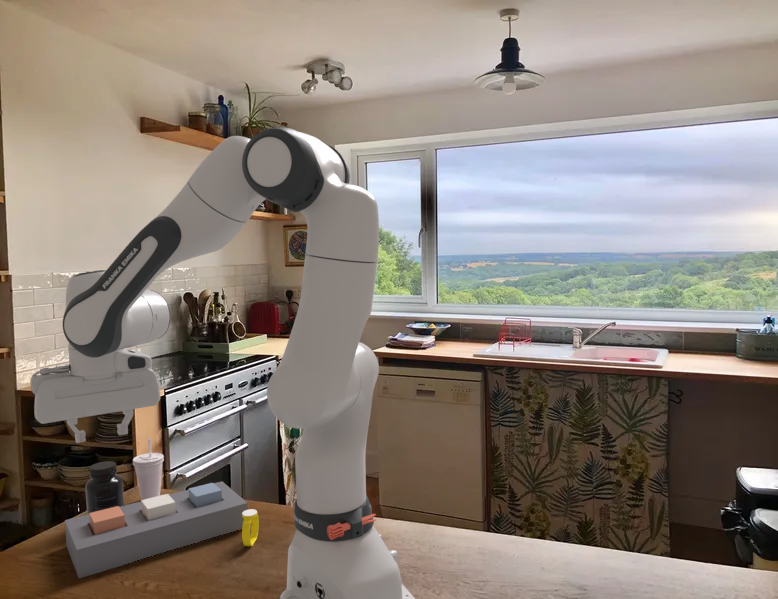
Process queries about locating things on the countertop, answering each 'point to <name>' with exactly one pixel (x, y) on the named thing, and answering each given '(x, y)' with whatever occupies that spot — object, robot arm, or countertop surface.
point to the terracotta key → (106, 520)
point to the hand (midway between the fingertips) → (102, 437)
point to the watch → (249, 519)
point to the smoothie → (149, 473)
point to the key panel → (151, 532)
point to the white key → (158, 507)
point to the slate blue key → (204, 495)
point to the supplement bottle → (104, 487)
